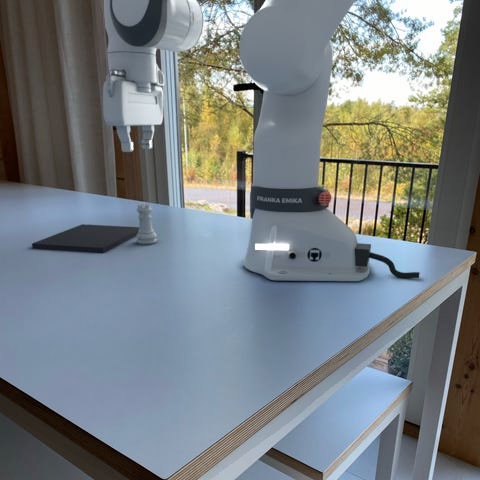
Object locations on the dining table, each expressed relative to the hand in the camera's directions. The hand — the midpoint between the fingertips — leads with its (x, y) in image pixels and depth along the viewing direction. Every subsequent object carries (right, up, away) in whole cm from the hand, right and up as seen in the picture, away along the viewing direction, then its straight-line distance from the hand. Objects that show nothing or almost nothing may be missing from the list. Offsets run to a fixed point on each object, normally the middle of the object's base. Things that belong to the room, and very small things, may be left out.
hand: (137, 150), depth 95 cm
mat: (-12, -16, +10) cm, 23 cm away
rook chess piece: (0, -17, +8) cm, 19 cm away
